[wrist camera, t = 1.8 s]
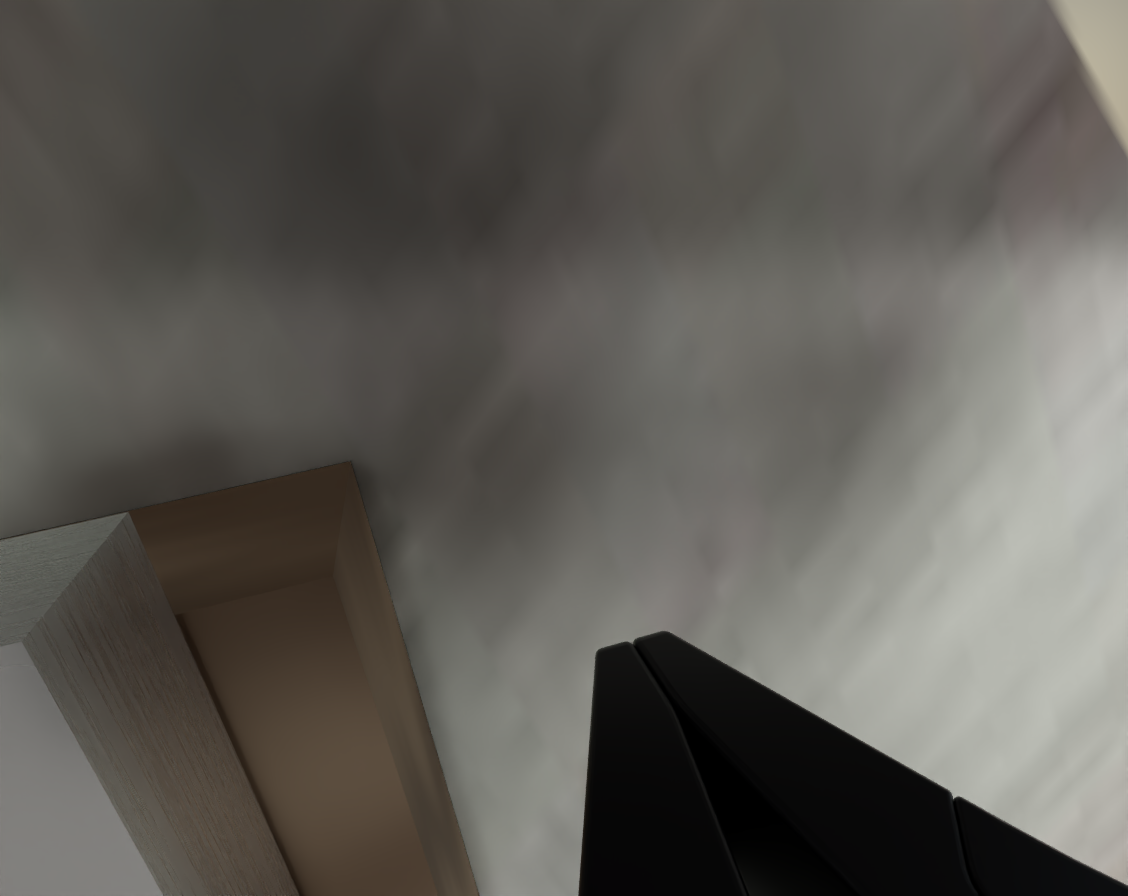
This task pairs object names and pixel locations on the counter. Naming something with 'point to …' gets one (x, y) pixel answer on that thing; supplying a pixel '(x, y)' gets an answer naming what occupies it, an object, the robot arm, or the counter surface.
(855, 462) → the counter surface
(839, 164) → the counter surface
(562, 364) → the counter surface
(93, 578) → the bar
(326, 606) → the jamb block
